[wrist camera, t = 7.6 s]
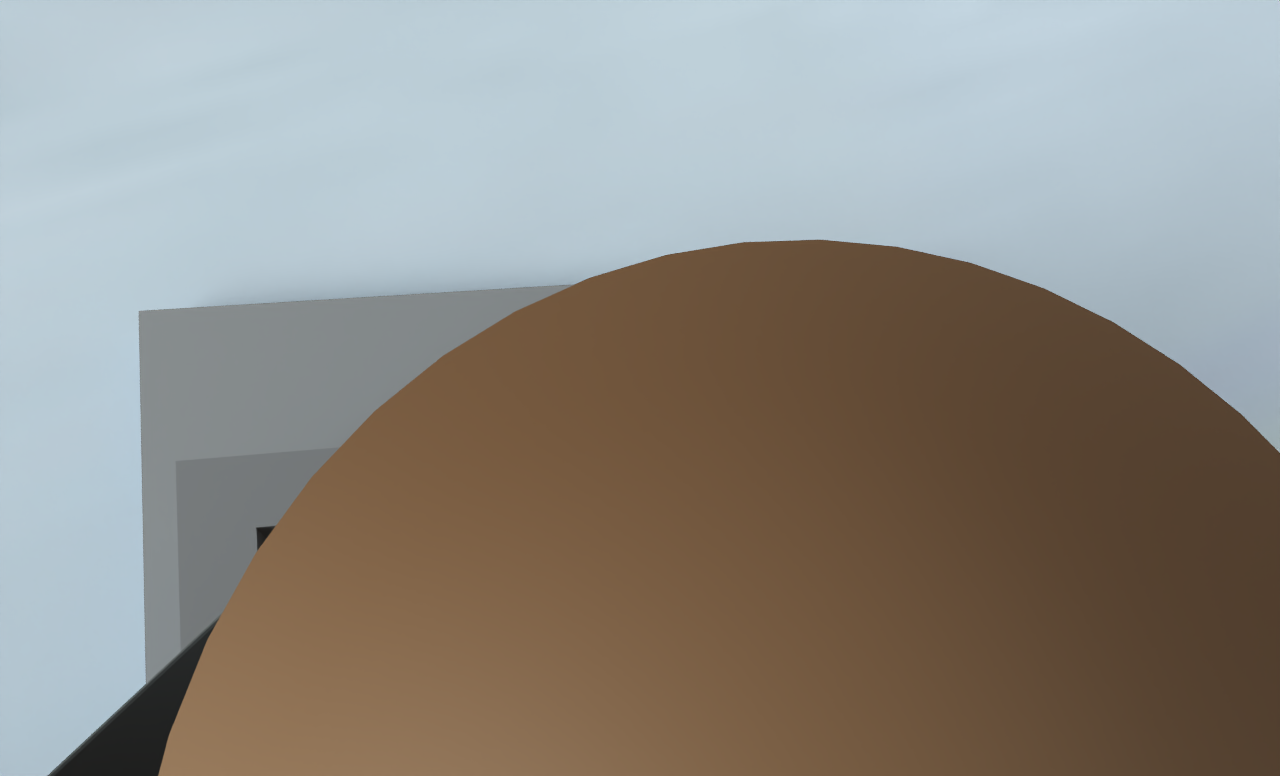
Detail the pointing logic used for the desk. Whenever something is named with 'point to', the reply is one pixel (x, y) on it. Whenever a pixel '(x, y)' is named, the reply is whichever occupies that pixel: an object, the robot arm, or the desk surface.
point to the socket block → (265, 424)
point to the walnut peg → (768, 546)
